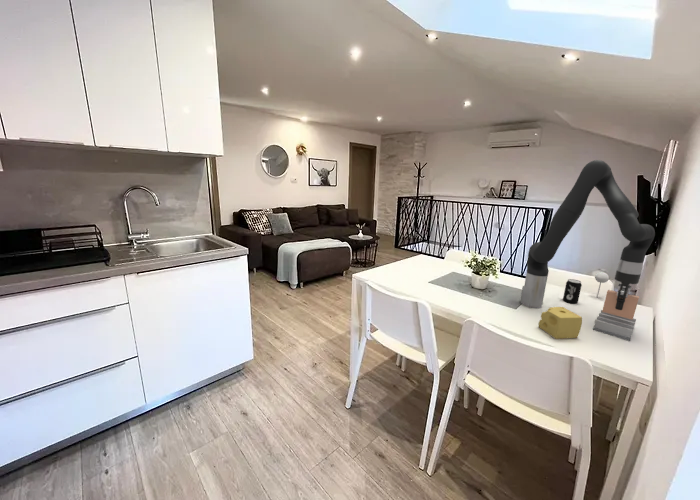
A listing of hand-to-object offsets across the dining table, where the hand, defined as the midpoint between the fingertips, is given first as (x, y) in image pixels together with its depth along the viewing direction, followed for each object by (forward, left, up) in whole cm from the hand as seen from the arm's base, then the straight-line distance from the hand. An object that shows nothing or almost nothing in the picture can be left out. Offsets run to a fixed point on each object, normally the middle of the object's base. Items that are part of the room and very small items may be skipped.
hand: (618, 308), depth 126 cm
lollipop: (+27, +30, -10) cm, 42 cm away
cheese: (-28, +1, -10) cm, 30 cm away
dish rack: (0, 0, -10) cm, 10 cm away
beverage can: (+7, +28, -10) cm, 31 cm away
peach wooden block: (0, 0, -3) cm, 3 cm away
